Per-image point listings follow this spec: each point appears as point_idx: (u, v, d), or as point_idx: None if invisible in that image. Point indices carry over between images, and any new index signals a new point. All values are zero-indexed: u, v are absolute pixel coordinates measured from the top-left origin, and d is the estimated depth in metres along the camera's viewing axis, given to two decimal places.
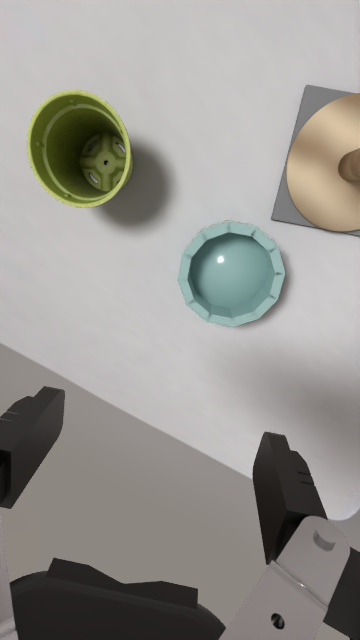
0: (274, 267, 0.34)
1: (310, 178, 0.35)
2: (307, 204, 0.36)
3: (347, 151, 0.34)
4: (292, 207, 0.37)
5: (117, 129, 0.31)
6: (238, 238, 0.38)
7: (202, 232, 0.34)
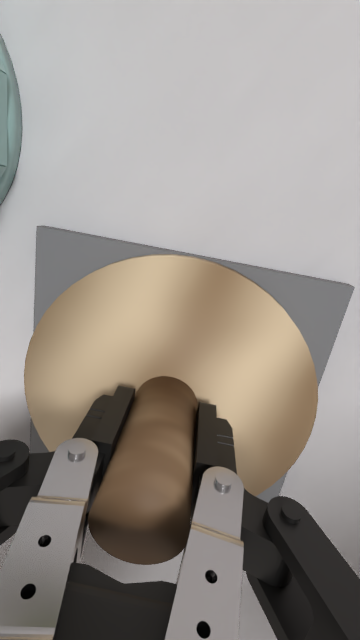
0: None
1: (137, 316, 0.13)
2: (75, 315, 0.14)
3: (197, 392, 0.14)
4: (71, 277, 0.14)
5: None
6: None
7: None
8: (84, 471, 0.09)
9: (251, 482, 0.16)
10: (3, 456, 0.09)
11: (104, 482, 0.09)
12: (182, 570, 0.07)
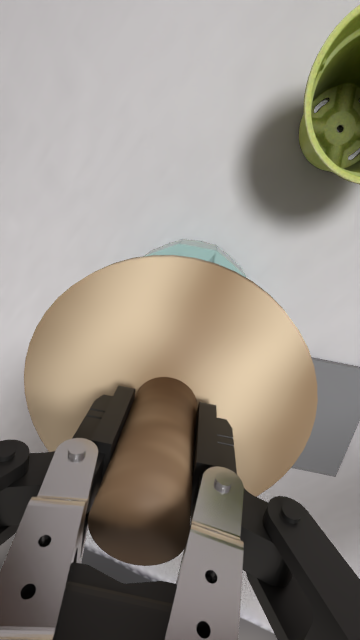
0: None
1: (137, 317, 0.13)
2: (75, 316, 0.14)
3: (197, 392, 0.14)
4: None
5: None
6: None
7: None
8: (84, 471, 0.09)
9: (251, 483, 0.16)
10: (3, 456, 0.09)
11: (104, 483, 0.09)
12: (182, 570, 0.07)
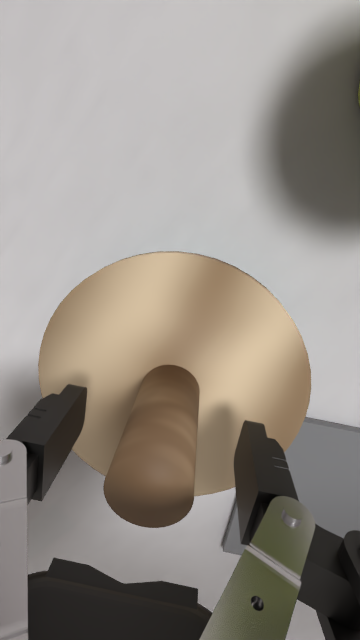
0: None
1: (144, 309, 0.15)
2: (87, 308, 0.15)
3: (199, 379, 0.15)
4: None
5: None
6: None
7: None
8: (5, 474, 0.08)
9: None
10: None
11: (117, 454, 0.10)
12: (228, 585, 0.06)
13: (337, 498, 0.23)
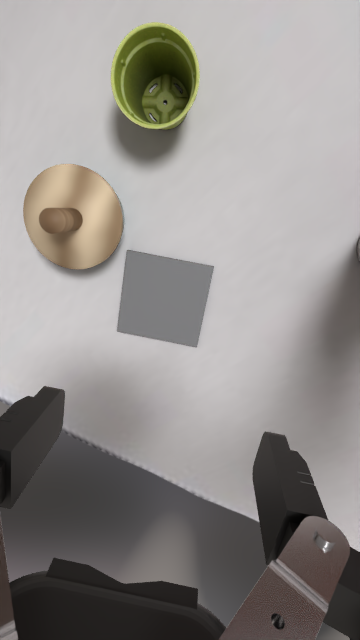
0: None
1: (60, 185, 0.41)
2: (40, 185, 0.42)
3: (82, 213, 0.42)
4: (135, 264, 0.49)
5: None
6: None
7: None
8: None
9: (104, 251, 0.44)
10: None
11: None
12: (248, 598, 0.06)
13: (164, 295, 0.50)
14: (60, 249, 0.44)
